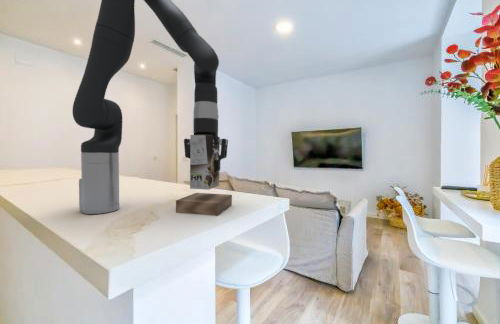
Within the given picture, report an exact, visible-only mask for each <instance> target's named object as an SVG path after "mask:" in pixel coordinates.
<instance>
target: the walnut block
mask: <svg viewBox="0 0 500 324" xmlns="http://www.w3.org/2000/svg"><path fill="white" fill-rule="evenodd" d="M232 205H233V194H228V193H227V194H224V193H222V194H221V193H208V192H195V193H192V194H190V195H186V196H183V197H181V198H178V199H177V200H175V213H177V214H187V215H188V214H190V215H191V214H192V215H200V216H201V215H203V216H211V217H212V216H214V217H218V216H220V215H221V214H223V212H225V211H227V210H228V209H229V208H230V207H231V206H232Z"/></svg>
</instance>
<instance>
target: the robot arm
mask: <svg viewBox="0 0 500 324" xmlns="http://www.w3.org/2000/svg"><path fill="white" fill-rule="evenodd" d="M135 1H136V0H101V2H100V6H99V11H98V15H97V19H96V23H95V26H94V31H93V35H92V40H91V45H90V49H89V54H88V57H87V63H86V66H85V69H84V72H83V76H82V78H81V80H80V84H79V87H78V89H77V92H76V95H75V98H74V101H73V105H72V117H73V120H74V122H75V123H76V124H77V125H78V126H80V127H83V128H86V129H93V131H94V132H93V135H92V136H93V137H91V138H90V139H88V140H85V141H83V142H81V145H80V152H81V154H80V163H81V166H80V167H81V168H80V170H81V178H78V203H79V204H78V205H79V208H78V209H79V212H81V213H82V214H86V215H87V214H88V215H98V214H106V213H112V212H115V211H118V210H119V209H120V163H119V162H120V159H119V158H120V157H119V156H120V155H119V153H120V152H119V151H120V149H119V148H120V145H121V144H122V138H123V112H122V109H121V106H120V105H119V104H118V103H117V102H115V101H113V100H110V99H107V98H105V97H106V93H107V89H108V85H110V84H109V83H110V82H111V80H112V79H113V77H114V76H115V75H116V74H117V73H118V72H119V71H120V70H121V69H122V68H124V66H125V65H127V63H128V61H129V60H130V57H131V54H132V49H133V45H134V42H135V33H136V15H135ZM143 1H144V3H145V4H146V5H147V6H148V7H149V8H150V9H151V11H153V13H154V14H155V16H156V17H157V19H158V21H160V23H161V24H162V26H163V27H164V29H165V30H166V31H167V33H168V34H169V36H170V37H171V39H172V40H173V41H174V42H175V44H176V45H177V47H178V48H179V49H180V50H181V51H182V52H183V53H187V55H188V56H189V57H190V58H191V59H192V61H193V63H194V64H193V75H194V93H193V95H194V98H193V100H194V101H193V102H194V104H193V123H192V124H193V129H192V131H193V135H213V136H214V145H217V144H218V143H220V153H219V152H218V149H217V150H214V149H213V152H214V158H215V161H214V173H218V172H219V173H220V171H221V160H224V159H226V158H227V155H228V146H229V144H228V143H229V140H228V138H220V139H219V137H220V136H219V108H218V107H219V106H218V88H217V83H216V80H217V70H218V67H219V65H220V64H219V63H220V60H219V57H218V54H217V53H216V51H215V49H214V48H213V47H212V46H211V45H210V44H209V43H208V42H207V41H206V40H205V38H203V37H202V36H201V35H199V33H198V31H197V29H196V28H195V27H194V25H193V24H192V23H191V21H190V20H189V19H188V17H187V16H186V15H185V13H184V12H183V11H182V10H181V9H180V8H179V7H178V6H177V5H176V4H175V3H174V2H173V0H143ZM183 143H184V145H183V147H184V156H185V158H187V159H189V160H190V138H184V139H183Z"/></svg>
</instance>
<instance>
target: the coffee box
mask: <svg viewBox="0 0 500 324" xmlns="http://www.w3.org/2000/svg"><path fill="white" fill-rule="evenodd" d="M189 137H190V138H189V139H190V159H189V160H190V161H189V188H190V189H192V190H205V191H206V190H207V191H209V190H211V189H214V188H216V187H219V186H220V171H219V172H218V173H214V161H215V158H214V152H213V149H214V150H217V149H218V152H219V154H221V145H220V143H218V144H217V145H214V136H213V135H194V134H191V135H190V136H189ZM218 137H219V139H221V138H220V136H218ZM190 189H189V190H190Z"/></svg>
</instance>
